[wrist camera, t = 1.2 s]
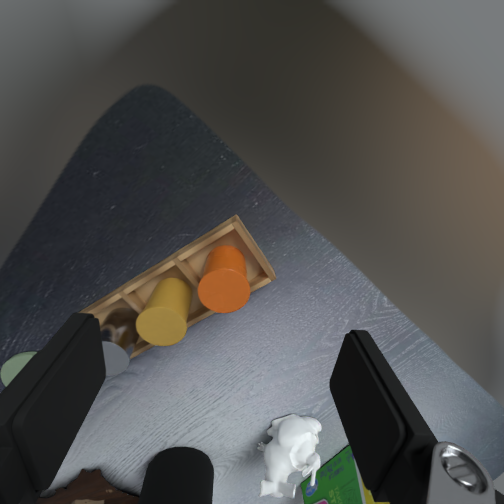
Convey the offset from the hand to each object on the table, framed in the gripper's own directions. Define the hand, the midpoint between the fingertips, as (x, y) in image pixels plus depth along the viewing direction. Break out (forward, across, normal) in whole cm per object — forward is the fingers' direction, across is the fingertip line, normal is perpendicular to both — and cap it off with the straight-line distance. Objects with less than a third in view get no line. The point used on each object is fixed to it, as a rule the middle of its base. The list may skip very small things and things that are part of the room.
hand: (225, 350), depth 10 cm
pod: (+18, 0, +6) cm, 19 cm away
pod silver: (+18, +11, +14) cm, 25 cm away
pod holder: (+18, +6, +10) cm, 22 cm away
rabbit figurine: (+19, -10, +33) cm, 39 cm away
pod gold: (+18, +6, +10) cm, 21 cm away
